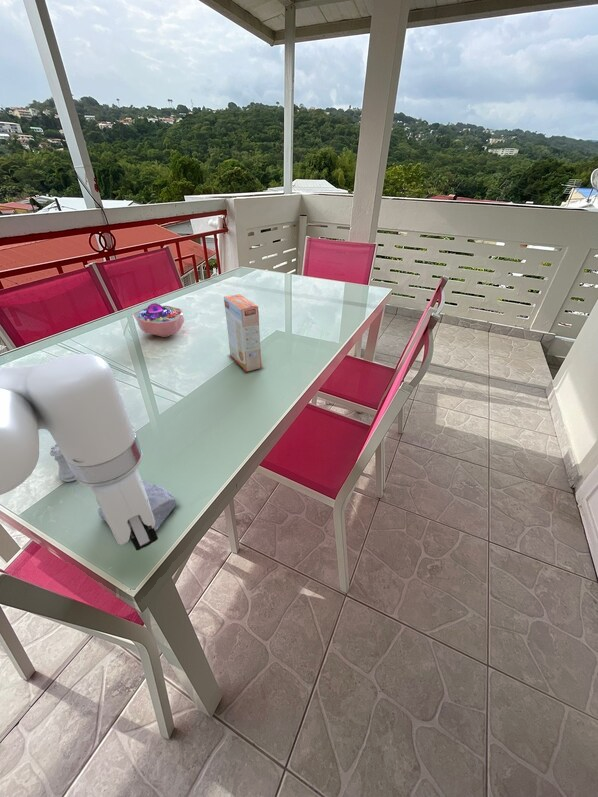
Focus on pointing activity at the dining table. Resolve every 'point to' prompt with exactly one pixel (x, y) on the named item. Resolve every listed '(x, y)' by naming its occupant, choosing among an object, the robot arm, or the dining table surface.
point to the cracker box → (243, 331)
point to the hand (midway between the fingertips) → (146, 541)
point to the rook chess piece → (62, 465)
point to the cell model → (160, 320)
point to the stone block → (156, 503)
